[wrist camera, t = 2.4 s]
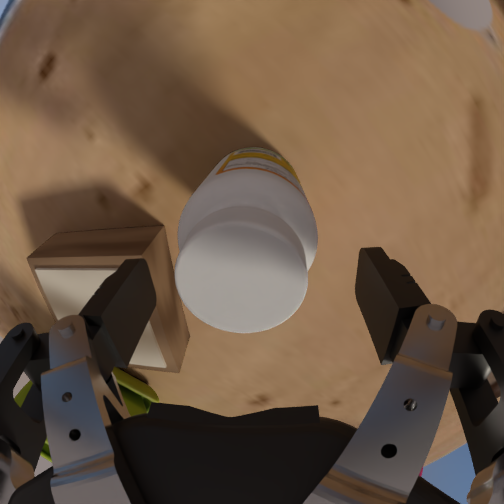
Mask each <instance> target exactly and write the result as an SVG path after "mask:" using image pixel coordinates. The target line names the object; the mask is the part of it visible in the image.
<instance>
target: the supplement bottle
mask: <svg viewBox="0 0 504 504" xmlns="http://www.w3.org/2000/svg"><path fill="white" fill-rule="evenodd" d="M317 243H318V233H317V226H316V221H315V218H314V215H313V212H312V209H311V207H310V205H309V202H308V200H307V198H306V196H305V193H304V191H303V189H302V186H301V184H300V181H299V179H298V177H297V175H296V173H295V171H294V169H293V168H292V166H291V165H290V164H289V163H288V161H287V160H285V159H284V158H283V157H282V156H280V155H279V154H277V153H275V152H273V151H271V150H268V149H264V148H258V147H249V148H243V149H239V150H237V151H234V152H232V153H230V154H228V155H227V156H226V157H224V158H223V159H222V160H221V161H220V162H219V163H218V164H217V165H216V166H215V167H214V169H213V170H212V171H211V172H210V174H209V175H208V176H207V177H206V178H205V180H204V181H203V182H202V183H201V184H200V186H199V187H198V188H197V189H196V190H195V192H194V193H193V194H192V196H191V197H190V199H189V200H188V202H187V204H186V205H185V207H184V209H183V212H182V214H181V217H180V221H179V226H178V245H179V250H180V252H179V255H178V257H177V260H176V264H175V275H174V276H175V284H176V288H177V291H178V293H179V296H180V298H181V299H182V301H183V303H184V304H185V305H186V307H187V308H188V309H189V310H190V311H191V312H192V313H193V314H194V315H195V316H196V317H198V318H199V319H200V320H202V321H203V322H205V323H207V324H208V325H210V326H213V327H215V328H218V329H221V330H224V331H229V332H235V333H252V332H260V331H264V330H268V329H270V328H273V327H275V326H277V325H279V324H281V323H283V322H284V321H286V320H287V319H288V318H290V317H291V316H292V315H293V314H294V313H295V312H296V310H297V309H298V308H299V307H300V305H301V303H302V301H303V299H304V297H305V294H306V291H307V286H308V272H307V271H308V270H309V268H310V267H311V265H312V263H313V260H314V257H315V254H316V250H317Z"/></svg>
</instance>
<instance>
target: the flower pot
mask: <svg viewBox="0 0 504 504" xmlns="http://www.w3.org/2000/svg"><path fill="white" fill-rule="evenodd" d="M112 372H113V374H114V375H115V377H116V380H117V383H118V386H119V389H120V391H121V394H122V397H123V399H124V402H125V404H126V407H127V409H128V412H129V414H130V416H134V415H138V414H143V413H148V411H149V408H150V405H151V402H156V403H159V398H158V396H157V394H156V393H155V391H154V390H153V389H152V388H151V387H150V386H148V385H147V384H146V383H144V382H141V381H140V380H138V379H136V378H134V377H133V376H131V375H129V374H127V373H126V372H124V371H122V370H120V369H119V368H117V367H114V369H113V371H112ZM32 384H33V383H32V381H31V380H30V381H29V382H28V383H27V384H26V385H25V386H24V387H23V388H22V389H21V391H20V392H19V393H18V394H17V395H16V397H15V398H14V400H15V402H16V403H17V404H18V405H19V407H20V408H21V406H22V404H23V402H24V400H25V398H26V396H27V394H28V392H29V390H30V388H31V386H32ZM40 455H41V456H42V457H44V458H45V459H47V460H49V461H50V462H52V459H51V455H50V450H49V444H48V439H47V438H46V441H45V443H44V446H43V449H42V451H41V454H40Z"/></svg>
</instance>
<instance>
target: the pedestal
mask: <svg viewBox="0 0 504 504" xmlns="http://www.w3.org/2000/svg"><path fill="white" fill-rule="evenodd" d="M137 258H144V259H145V260H146V261H147V263H148V267H149V270H150V274H151V277H152V281H153V284H154V288H155V291H156V297H157V301H156V307H155V309H154V311H153V313H152V315H151V317H150V319H149V321H148V323H147V326H146V328H145V330H144V332H143V334H142V336H141V338H140V340H139V343H138V345H137V347H136V349H135V351H134V354H133V356H132V358H131V360H130V363H129V365H128V367H132V368H139V369H147V370H155V371H164V372H174V373H179V372H180V369H181V365H182V362H183V358H184V355H185V351H186V348H187V345H188V341H189V338H190V335H189V331H188V327H187V323H186V320H185V316H184V312H183V308H182V304H181V300H180V296H179V293H178V291H177V288H176V284H175V276H174V270H173V266H172V261H171V256H170V252H169V247H168V242H167V237H166V232H165V226H148V227H132V228H117V229H103V230H90V231H78V232H66V233H56V234H55V235H53V236H52V237H51V238H50V239H48V240H47V241H46V242H45V243H44V244H42V245H41V246H40V247H39V248H38V249H36V250H35V251H34V252H33V253H32V254H31V255H29V256H28V257H27V261H28V263H29V266H30V268H31V271H32V273H33V275H34V278H35V280H36V282H37V285H38V287H39V289H40V291H41V294H42V296H43V298H44V300H45V302H46V304H47V306H48V308H49V310H50V312H51V314H52V316H53V318H54V320H55V322H57V321H58V320H60V319H61V318H63V317H66V316H69V315H78V314H79V313H80V311H81V310H82V309H83V307H84V306H85V305H86V303H87V302H88V301H89V299H90V298H91V297H92V295H94V293H95V291H96V290H97V289H98V288H99V286H100V285H101V284H102V283H103V281H104V280H105V279H106V278H107V277H109V276H110V275H111V274H113V273H114V272H116V270H117V269H118V268H119V267H120V265H121V264H122V263H123V262H124V260H126V259H137Z"/></svg>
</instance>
